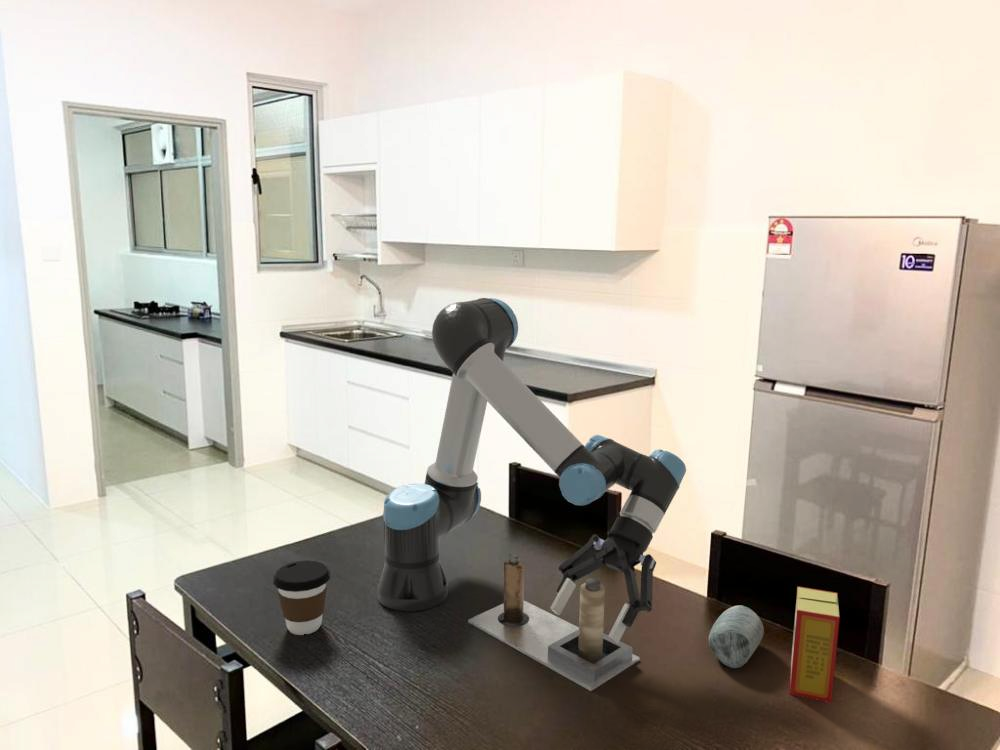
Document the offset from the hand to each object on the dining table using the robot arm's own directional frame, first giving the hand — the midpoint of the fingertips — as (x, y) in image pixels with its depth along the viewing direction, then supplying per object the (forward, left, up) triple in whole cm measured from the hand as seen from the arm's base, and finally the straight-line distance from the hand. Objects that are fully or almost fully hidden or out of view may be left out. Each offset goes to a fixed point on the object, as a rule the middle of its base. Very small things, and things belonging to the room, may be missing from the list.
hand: (582, 625), depth 137 cm
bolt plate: (-10, +2, -8) cm, 13 cm away
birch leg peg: (0, +2, -7) cm, 8 cm away
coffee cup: (-47, -30, -8) cm, 56 cm away
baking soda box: (+31, +25, -8) cm, 41 cm away
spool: (+17, +24, -8) cm, 31 cm away
